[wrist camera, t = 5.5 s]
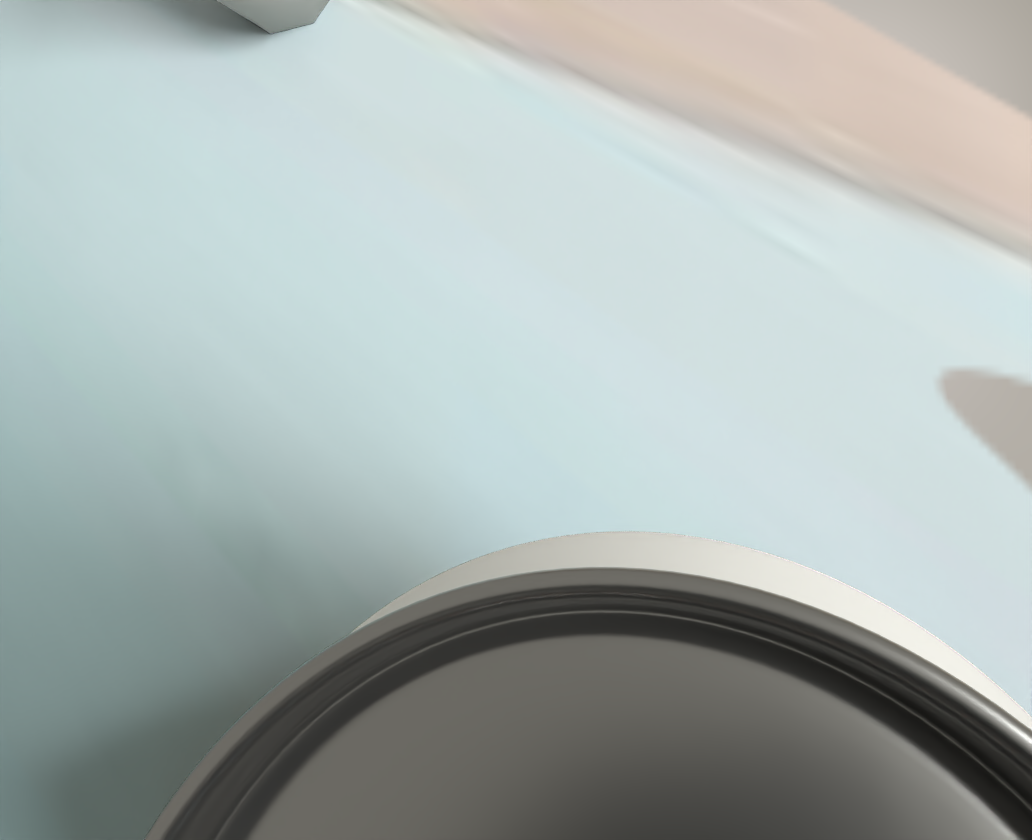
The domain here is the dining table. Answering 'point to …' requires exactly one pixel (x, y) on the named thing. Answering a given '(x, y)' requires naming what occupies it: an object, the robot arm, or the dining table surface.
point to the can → (622, 713)
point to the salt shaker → (277, 12)
